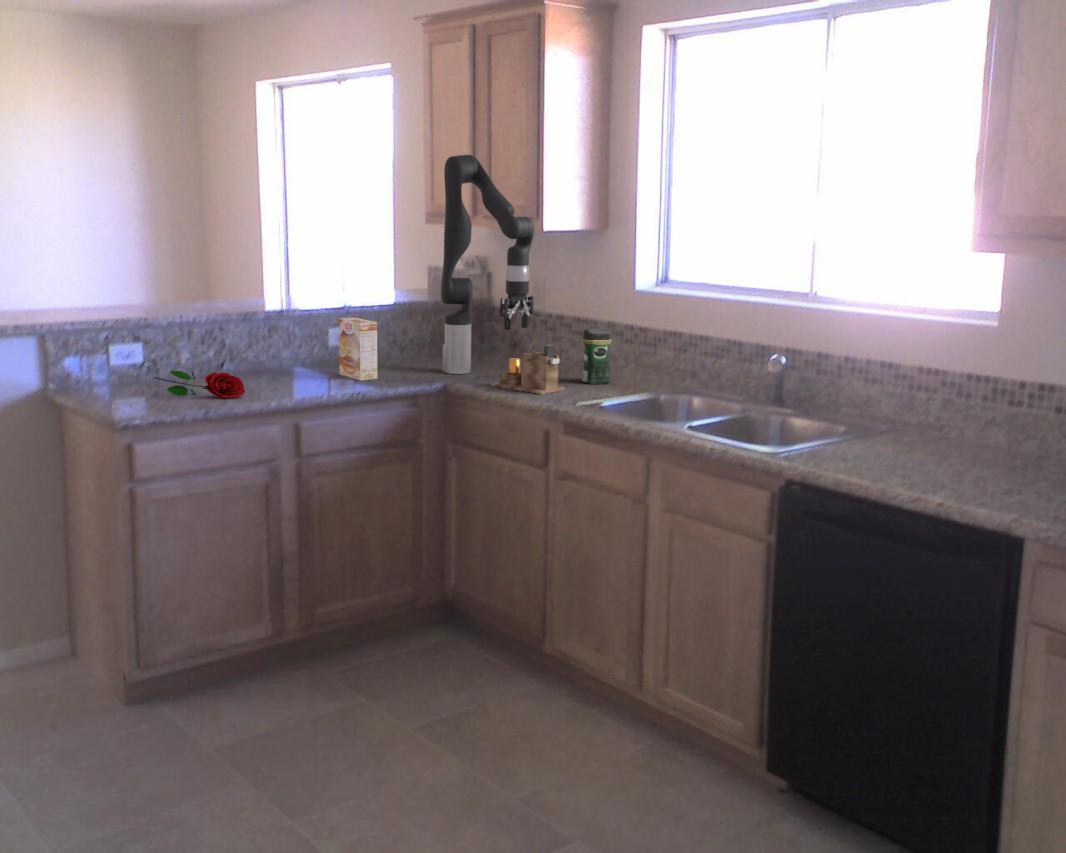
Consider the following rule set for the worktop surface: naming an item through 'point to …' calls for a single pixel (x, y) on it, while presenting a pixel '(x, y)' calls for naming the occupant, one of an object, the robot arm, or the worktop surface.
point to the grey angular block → (550, 354)
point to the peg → (514, 366)
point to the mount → (533, 375)
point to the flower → (211, 385)
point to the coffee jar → (596, 356)
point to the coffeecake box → (358, 348)
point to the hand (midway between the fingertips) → (516, 328)
